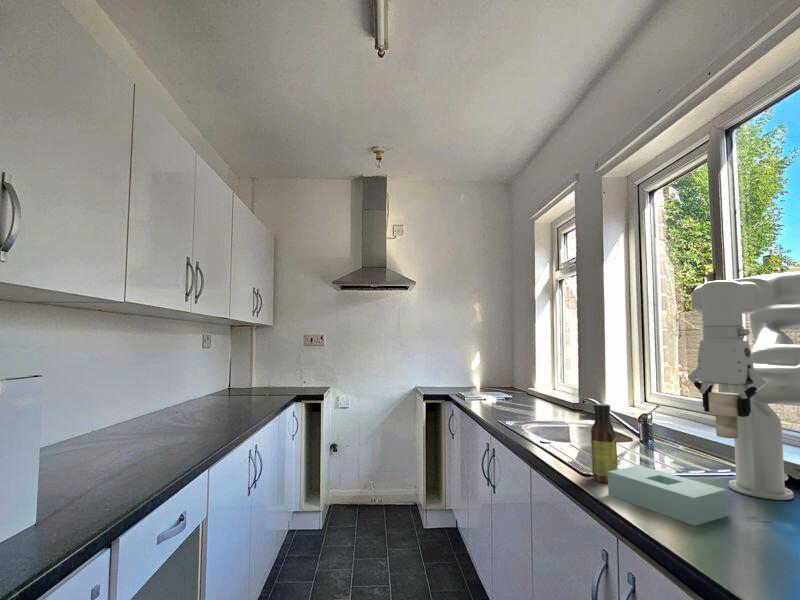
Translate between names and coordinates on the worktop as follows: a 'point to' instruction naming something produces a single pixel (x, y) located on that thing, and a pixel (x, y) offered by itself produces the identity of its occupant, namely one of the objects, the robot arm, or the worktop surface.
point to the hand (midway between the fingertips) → (726, 413)
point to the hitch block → (668, 494)
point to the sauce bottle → (603, 444)
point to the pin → (725, 413)
